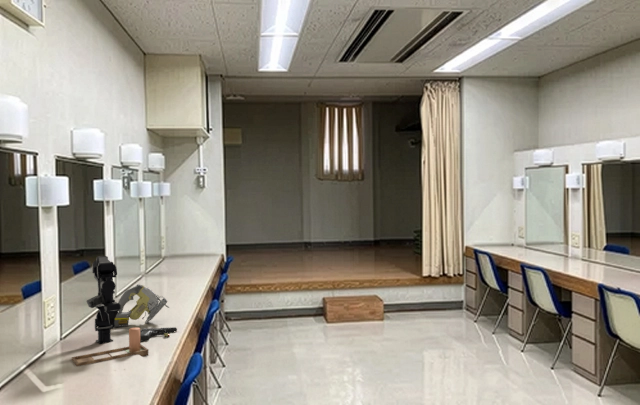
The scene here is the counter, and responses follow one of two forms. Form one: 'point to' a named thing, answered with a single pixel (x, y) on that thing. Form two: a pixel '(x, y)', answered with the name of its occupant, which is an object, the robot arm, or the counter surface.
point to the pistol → (155, 332)
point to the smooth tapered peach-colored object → (134, 339)
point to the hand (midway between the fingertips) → (107, 322)
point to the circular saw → (139, 305)
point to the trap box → (88, 358)
